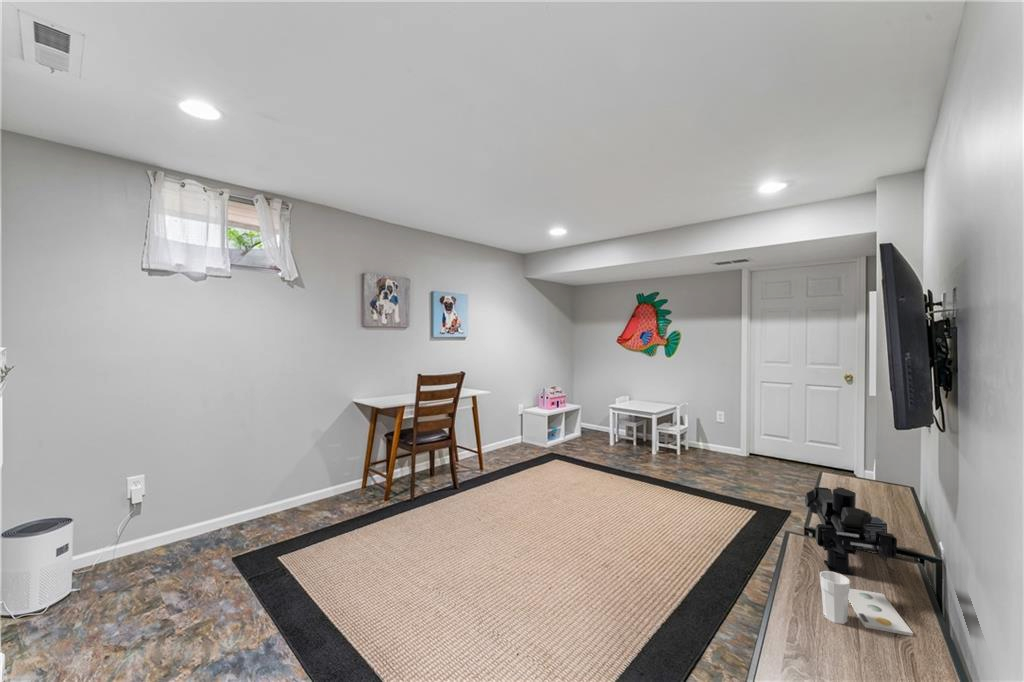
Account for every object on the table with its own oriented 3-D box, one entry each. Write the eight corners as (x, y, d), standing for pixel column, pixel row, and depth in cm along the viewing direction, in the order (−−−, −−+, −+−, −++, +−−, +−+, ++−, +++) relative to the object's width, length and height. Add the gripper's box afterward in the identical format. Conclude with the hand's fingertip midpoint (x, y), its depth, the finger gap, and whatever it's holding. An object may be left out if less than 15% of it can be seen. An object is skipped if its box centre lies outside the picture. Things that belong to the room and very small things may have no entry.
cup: (821, 607, 122) (820, 568, 122) (850, 616, 118) (850, 576, 118) (819, 619, 117) (818, 578, 117) (850, 629, 112) (849, 587, 112)
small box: (878, 544, 157) (878, 516, 157) (889, 553, 150) (888, 523, 150) (844, 541, 160) (844, 513, 160) (853, 550, 153) (853, 521, 153)
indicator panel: (841, 589, 130) (841, 586, 130) (882, 596, 126) (882, 593, 126) (865, 627, 113) (865, 623, 113) (913, 636, 109) (913, 632, 109)
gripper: (811, 498, 135) (825, 523, 121) (885, 506, 128) (910, 534, 114) (810, 531, 137) (824, 560, 122) (884, 542, 129) (908, 573, 115)
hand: (865, 556), depth 118 cm, fingers open, 9 cm apart
